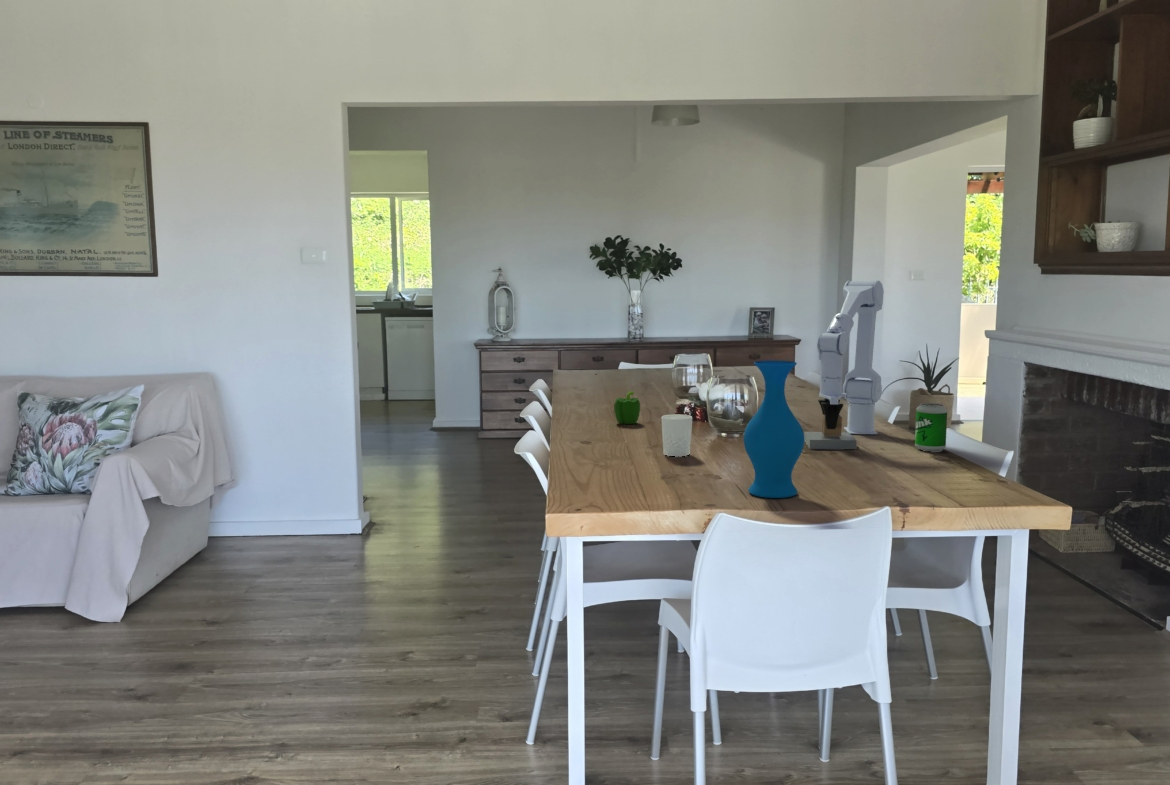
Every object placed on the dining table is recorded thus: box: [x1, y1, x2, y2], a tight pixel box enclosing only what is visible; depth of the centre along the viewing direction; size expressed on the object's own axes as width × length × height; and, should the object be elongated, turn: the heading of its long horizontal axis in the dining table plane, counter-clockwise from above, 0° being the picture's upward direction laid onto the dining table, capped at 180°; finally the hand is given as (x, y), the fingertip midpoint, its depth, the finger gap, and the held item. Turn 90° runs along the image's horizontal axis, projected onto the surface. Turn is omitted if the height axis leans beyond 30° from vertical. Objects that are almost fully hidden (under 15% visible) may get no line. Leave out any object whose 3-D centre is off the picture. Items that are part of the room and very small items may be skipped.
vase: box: [743, 360, 805, 499], centre depth 183 cm, size 12×13×28 cm
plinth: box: [803, 431, 858, 450], centre depth 237 cm, size 12×12×2 cm
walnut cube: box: [821, 414, 843, 436], centre depth 236 cm, size 4×4×5 cm
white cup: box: [660, 413, 693, 458], centre depth 225 cm, size 8×8×10 cm
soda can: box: [914, 402, 948, 453], centre depth 228 cm, size 8×8×12 cm
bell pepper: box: [613, 391, 641, 425], centre depth 274 cm, size 8×8×10 cm
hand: (829, 427), depth 236 cm, fingers closed on walnut cube, 4 cm apart
